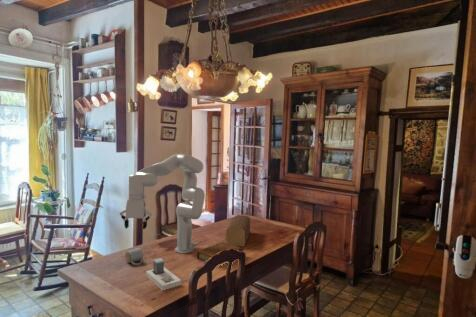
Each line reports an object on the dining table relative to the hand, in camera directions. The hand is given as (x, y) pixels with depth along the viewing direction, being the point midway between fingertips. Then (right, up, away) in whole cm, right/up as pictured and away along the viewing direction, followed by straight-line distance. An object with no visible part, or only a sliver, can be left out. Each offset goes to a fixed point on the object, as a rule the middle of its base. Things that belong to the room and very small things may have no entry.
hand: (135, 228), depth 165 cm
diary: (+45, -25, +25) cm, 57 cm away
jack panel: (+17, -25, -7) cm, 31 cm away
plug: (+13, -25, -3) cm, 29 cm away
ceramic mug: (-5, -24, +14) cm, 28 cm away
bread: (+56, -22, +61) cm, 86 cm away
